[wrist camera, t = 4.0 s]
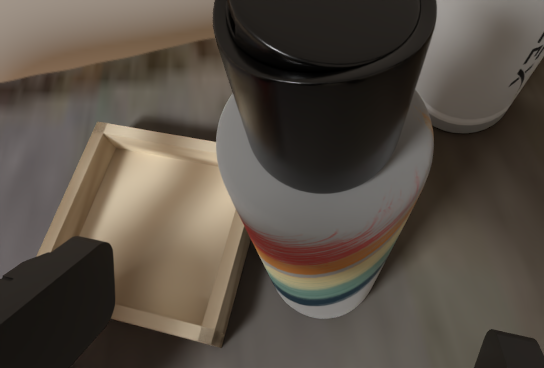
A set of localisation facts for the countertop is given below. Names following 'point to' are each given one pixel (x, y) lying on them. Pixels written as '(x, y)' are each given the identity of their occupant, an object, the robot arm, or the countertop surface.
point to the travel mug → (479, 60)
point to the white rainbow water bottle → (324, 137)
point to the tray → (158, 229)
